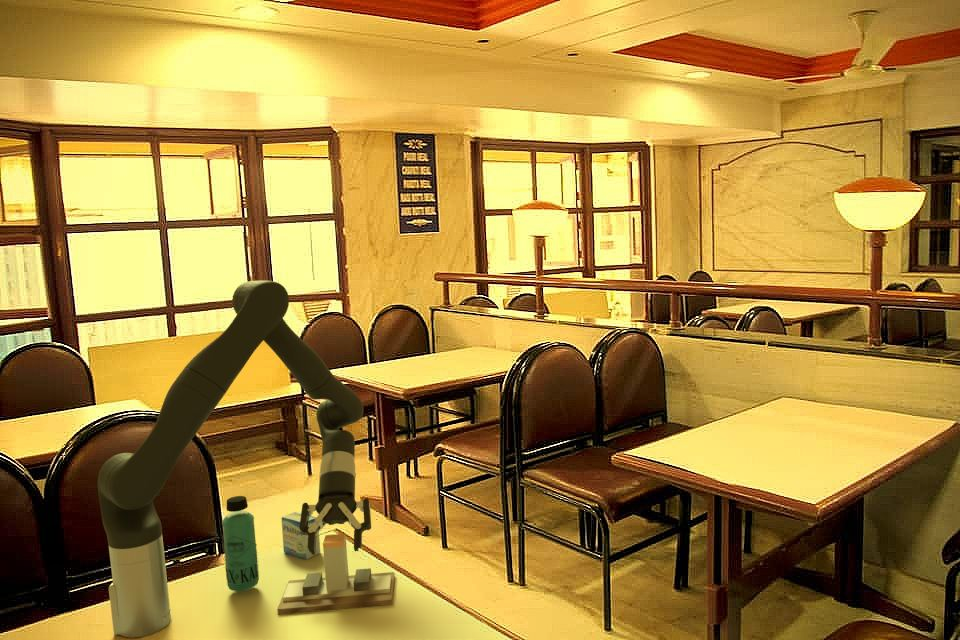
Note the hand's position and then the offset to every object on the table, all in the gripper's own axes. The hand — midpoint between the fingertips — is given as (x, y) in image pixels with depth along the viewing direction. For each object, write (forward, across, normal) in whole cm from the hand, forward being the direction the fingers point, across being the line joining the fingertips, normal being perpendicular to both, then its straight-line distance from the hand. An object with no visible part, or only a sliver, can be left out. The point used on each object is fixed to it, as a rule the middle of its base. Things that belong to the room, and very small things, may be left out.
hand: (334, 551), depth 146 cm
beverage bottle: (+3, -20, +11) cm, 23 cm away
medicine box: (-9, -11, +23) cm, 27 cm away
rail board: (+6, 0, +7) cm, 10 cm away
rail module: (+5, 0, +6) cm, 8 cm away
